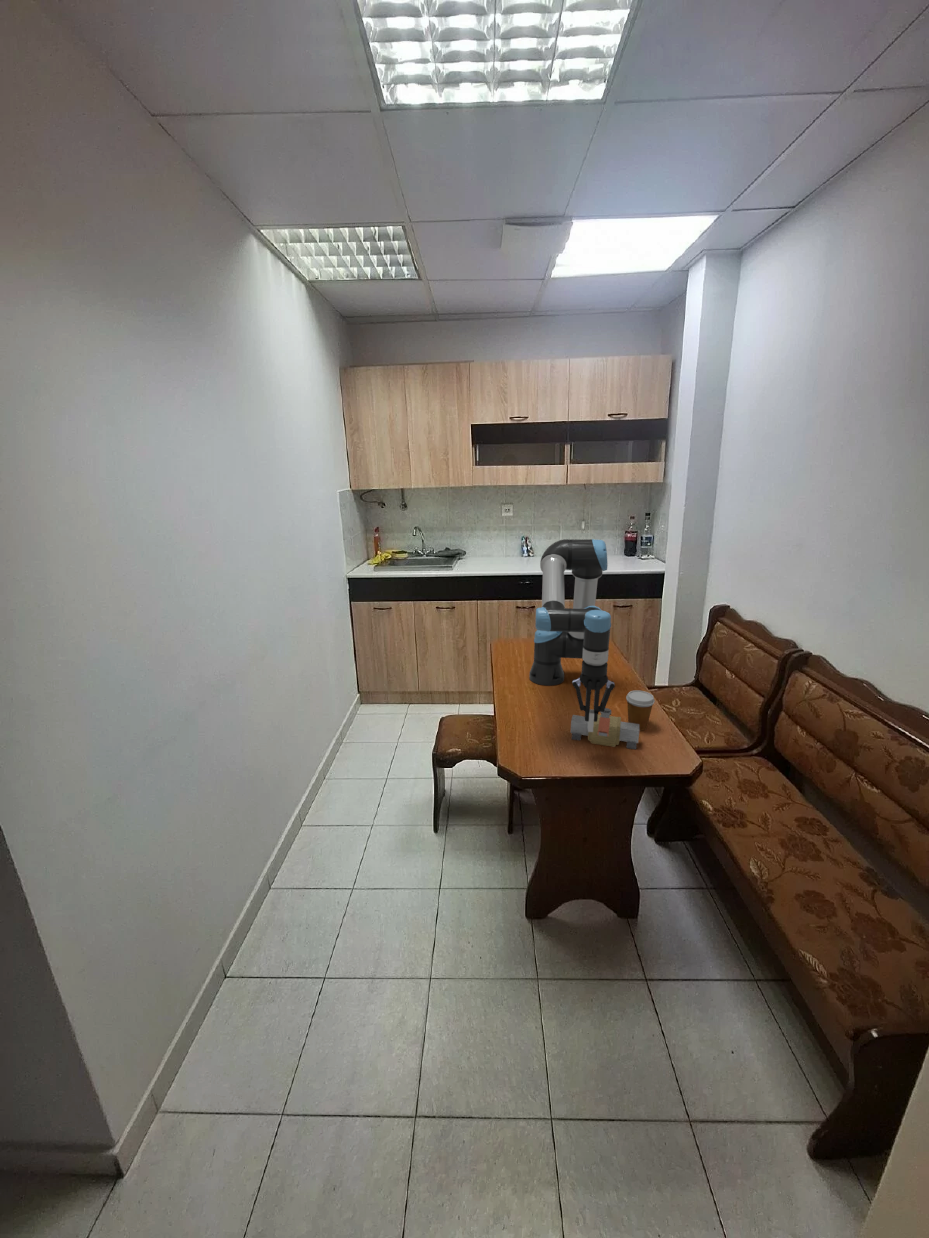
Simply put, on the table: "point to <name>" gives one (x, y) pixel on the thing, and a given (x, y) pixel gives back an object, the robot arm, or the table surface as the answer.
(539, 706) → the table surface
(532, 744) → the table surface
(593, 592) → the robot arm
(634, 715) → the disposable coffee cup
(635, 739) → the bar with tan sleeve
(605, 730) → the lever
